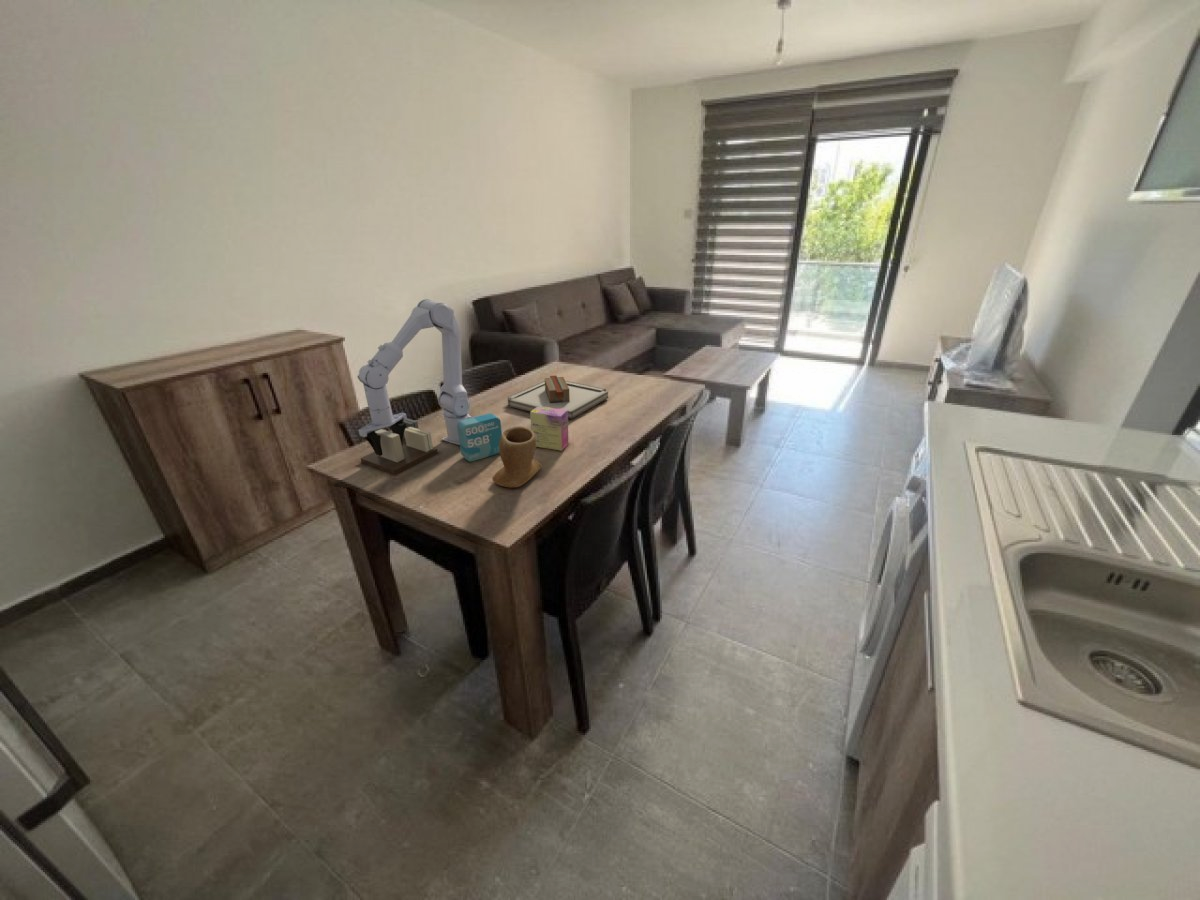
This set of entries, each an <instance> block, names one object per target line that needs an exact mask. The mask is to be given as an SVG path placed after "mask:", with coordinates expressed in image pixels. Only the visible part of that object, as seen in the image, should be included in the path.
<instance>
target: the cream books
mask: <svg viewBox="0 0 1200 900" xmlns="http://www.w3.org/2000/svg"><path fill="white" fill-rule="evenodd" d="M404 435H405V440H406V445H407V446H409V447H412V448H415V449H419V450H422V451H425V452H428V451H429V450H432V449H433V448H434V446H433V440H432V435H431V432H429V431H426V430H423V429H420V428H419V429H417V428H413V427H408V428H406V429H405V431H404Z"/></svg>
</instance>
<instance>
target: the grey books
mask: <svg viewBox="0 0 1200 900" xmlns="http://www.w3.org/2000/svg"><path fill="white" fill-rule="evenodd" d="M403 422H405V423H406V425H407V426H406V428H408V427H413V428H417V429H420V428H419V422H418V421H417V420H414V419H410V418H407V420H405V421H403ZM406 428H405V429H406ZM404 438H405V435H403V439H404Z"/></svg>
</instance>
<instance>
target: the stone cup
mask: <svg viewBox="0 0 1200 900" xmlns="http://www.w3.org/2000/svg"><path fill="white" fill-rule="evenodd" d="M536 450H537V447H536V436H535V433H534V432H533V431H532V430H531V428H529V427H527V426H522V425H521V426H520V425H519V426H517V425H516V426H512V427H508V428H506V429H505V430H504V431H502V435H501V437H500V441H499V452H500V453H499V456H500V459H501V462H502V464H503V466H502V467H501V468H500V469H499V470H497V472H495V473H494V474H493V476H492V478H491V479H492V481H493V482H494V483H495V484H496V485H498V486H501V487H504V488H519V487H522V486H523V485H525V484H526V483H528V482H529V481H530V480H531V479H532V478H533V477H534V476H535V475H536V474H537V473H538V472H539V471H540V470H541V469H542V468H543V466H542V464H541V463H540V462H539V461H538V460H537V459H535V458H534V456H535V453H536Z"/></svg>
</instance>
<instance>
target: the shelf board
mask: <svg viewBox="0 0 1200 900" xmlns="http://www.w3.org/2000/svg"><path fill="white" fill-rule="evenodd" d="M402 450H403V454H404V459H403V460H401V461H399V462H395V461H392V460H389V459H386V458H383V457H381V456H378V455H376V453H375V451H373V452H370V453H369V454H366V455H364V456H362V457H360V462H361V463H362V464H364V465H366V466H369V467H372V468H375V469H378V470H381V471H383V472H386V473H388V474H391V475H393V476H396V475H397V474H400V473H402V472H404V471H405V470H407V469H410V468H411V467H413V466H415V465H417V464H419V463H421V462H423V461H425V460H427V459H429V458H431V457H433V456H435V455H437V454H439V451H438V448H436V447H433V449H432V450H429V451H428V452H425V451H422V450H419V449H415V448H412V447H409V446H407V445H406V440H405V438H403V444H402Z"/></svg>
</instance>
